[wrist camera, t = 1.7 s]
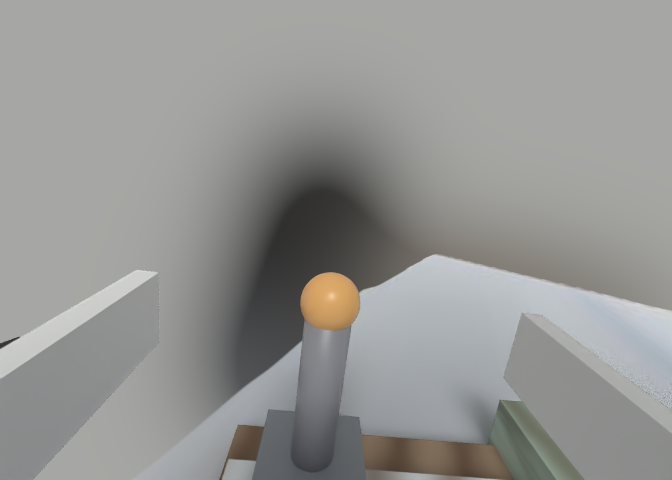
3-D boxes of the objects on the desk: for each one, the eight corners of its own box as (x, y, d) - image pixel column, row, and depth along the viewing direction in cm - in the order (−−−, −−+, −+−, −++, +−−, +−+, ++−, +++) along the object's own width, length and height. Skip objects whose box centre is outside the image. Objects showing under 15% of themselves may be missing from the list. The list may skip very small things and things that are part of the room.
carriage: (354, 444, 30) (384, 262, 26) (363, 545, 22) (407, 307, 18) (266, 437, 30) (281, 251, 25) (243, 537, 22) (260, 292, 18)
